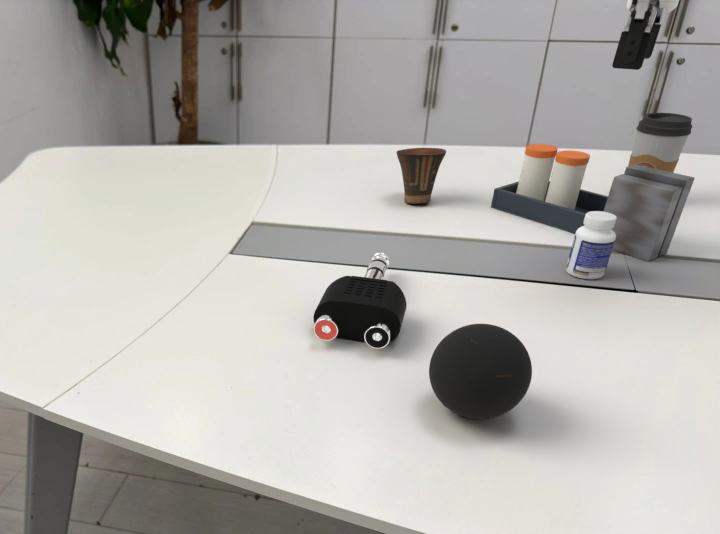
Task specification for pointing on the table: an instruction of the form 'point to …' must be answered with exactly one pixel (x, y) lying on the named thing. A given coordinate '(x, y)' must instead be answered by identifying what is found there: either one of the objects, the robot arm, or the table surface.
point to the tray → (547, 207)
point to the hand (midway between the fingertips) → (631, 62)
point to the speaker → (480, 371)
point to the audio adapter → (362, 307)
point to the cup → (419, 172)
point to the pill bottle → (592, 246)
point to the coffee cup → (660, 140)
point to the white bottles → (563, 176)
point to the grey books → (646, 209)
